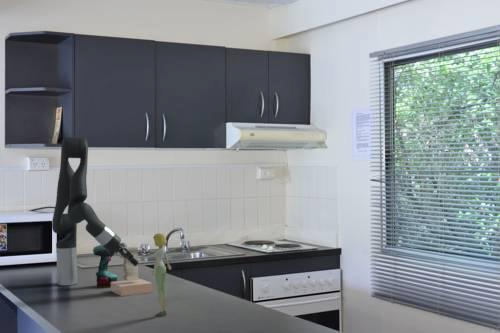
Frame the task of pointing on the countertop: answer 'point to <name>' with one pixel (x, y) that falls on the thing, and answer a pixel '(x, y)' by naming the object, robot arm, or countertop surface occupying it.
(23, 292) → the countertop surface
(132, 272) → the post
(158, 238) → the sculpture
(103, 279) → the power drill
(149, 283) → the base block
